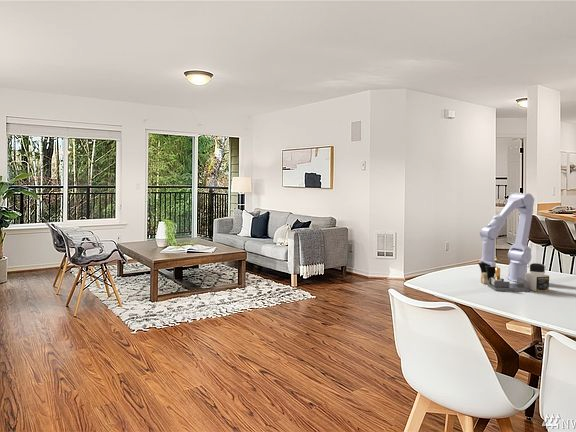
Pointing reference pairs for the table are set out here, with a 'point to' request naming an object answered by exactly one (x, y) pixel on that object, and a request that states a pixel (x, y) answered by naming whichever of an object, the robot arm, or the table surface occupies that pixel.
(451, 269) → the table surface
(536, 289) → the medicine bottle
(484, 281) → the light wooden block
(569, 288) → the table surface
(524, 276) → the robot arm
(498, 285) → the press frame
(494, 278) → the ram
